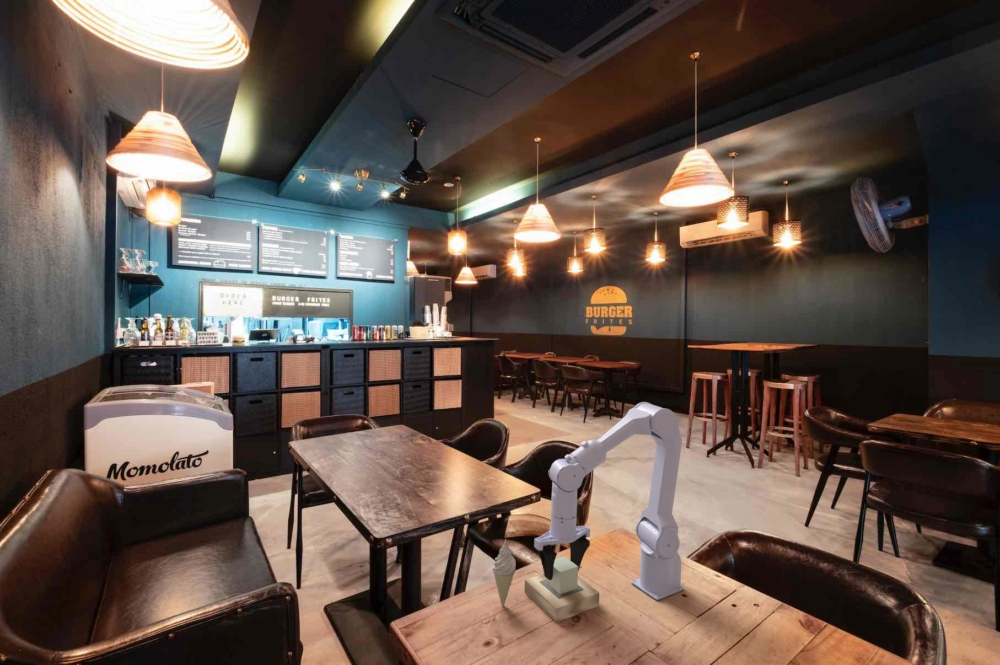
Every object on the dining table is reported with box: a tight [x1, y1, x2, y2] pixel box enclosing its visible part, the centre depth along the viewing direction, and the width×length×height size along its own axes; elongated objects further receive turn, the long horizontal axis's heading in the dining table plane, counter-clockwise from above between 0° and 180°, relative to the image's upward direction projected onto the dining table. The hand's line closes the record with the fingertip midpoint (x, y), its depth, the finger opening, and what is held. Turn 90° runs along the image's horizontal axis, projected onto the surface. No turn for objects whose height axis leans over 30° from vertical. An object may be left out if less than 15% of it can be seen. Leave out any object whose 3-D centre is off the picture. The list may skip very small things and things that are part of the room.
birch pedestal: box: [523, 573, 600, 623], centre depth 103 cm, size 12×12×3 cm
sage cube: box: [546, 555, 579, 594], centre depth 102 cm, size 5×5×5 cm
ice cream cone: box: [492, 538, 517, 607], centre depth 99 cm, size 5×5×15 cm
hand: (561, 573), depth 103 cm, fingers open, 7 cm apart
